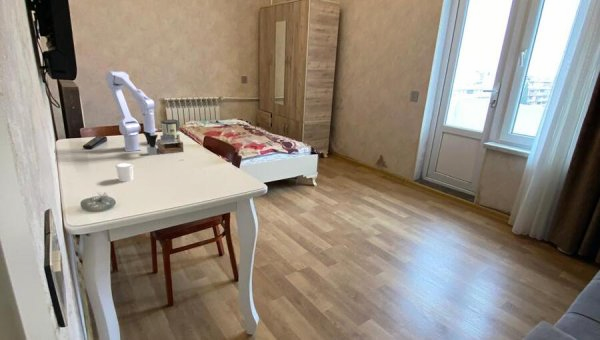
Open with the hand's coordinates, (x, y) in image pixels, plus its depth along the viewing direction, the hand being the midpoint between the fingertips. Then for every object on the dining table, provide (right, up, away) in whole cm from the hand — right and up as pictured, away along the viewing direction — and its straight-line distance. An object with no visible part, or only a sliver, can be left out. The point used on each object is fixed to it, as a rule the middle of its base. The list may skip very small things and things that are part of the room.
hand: (151, 145), depth 182 cm
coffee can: (+1, +4, +27) cm, 28 cm away
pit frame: (+7, -2, +10) cm, 13 cm away
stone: (0, -5, +2) cm, 5 cm away
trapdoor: (+6, +3, +10) cm, 12 cm away
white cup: (+6, -18, -37) cm, 41 cm away
